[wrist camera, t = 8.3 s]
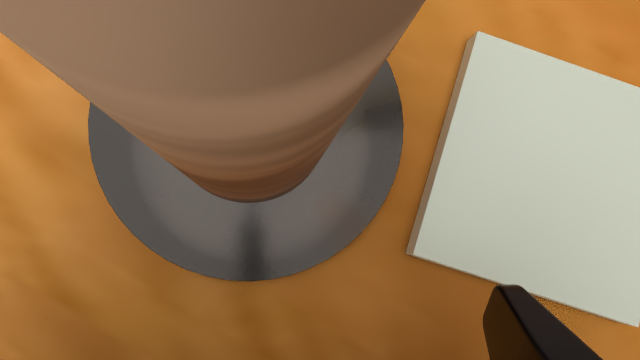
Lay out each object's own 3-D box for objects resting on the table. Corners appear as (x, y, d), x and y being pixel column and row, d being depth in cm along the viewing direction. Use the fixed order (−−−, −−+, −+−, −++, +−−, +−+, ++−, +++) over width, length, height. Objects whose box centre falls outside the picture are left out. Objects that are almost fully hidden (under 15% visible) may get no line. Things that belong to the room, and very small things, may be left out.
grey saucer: (192, 336, 18) (187, 343, 16) (45, 73, 18) (29, 61, 17) (447, 183, 19) (459, 180, 18) (304, -57, 19) (306, -76, 18)
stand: (618, 322, 19) (638, 327, 18) (405, 253, 19) (413, 254, 18) (668, 111, 20) (689, 104, 19) (467, 41, 20) (478, 30, 19)
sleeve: (253, 235, 17) (211, 226, 4) (135, 128, 17) (-281, -219, 4) (358, 121, 18) (601, -193, 5) (244, 18, 18) (183, -572, 5)
